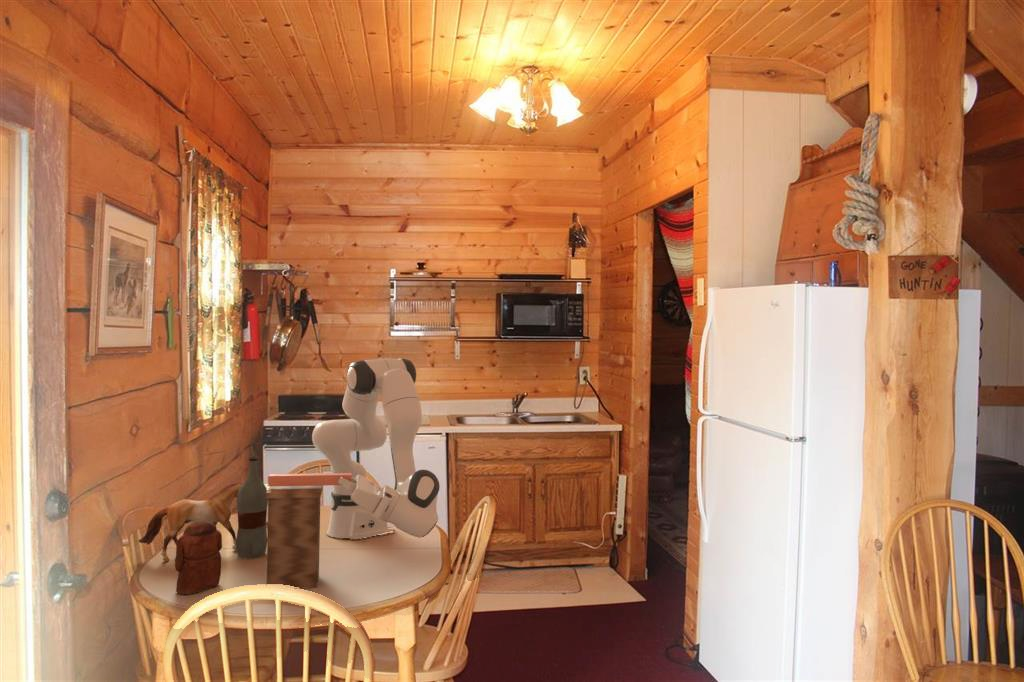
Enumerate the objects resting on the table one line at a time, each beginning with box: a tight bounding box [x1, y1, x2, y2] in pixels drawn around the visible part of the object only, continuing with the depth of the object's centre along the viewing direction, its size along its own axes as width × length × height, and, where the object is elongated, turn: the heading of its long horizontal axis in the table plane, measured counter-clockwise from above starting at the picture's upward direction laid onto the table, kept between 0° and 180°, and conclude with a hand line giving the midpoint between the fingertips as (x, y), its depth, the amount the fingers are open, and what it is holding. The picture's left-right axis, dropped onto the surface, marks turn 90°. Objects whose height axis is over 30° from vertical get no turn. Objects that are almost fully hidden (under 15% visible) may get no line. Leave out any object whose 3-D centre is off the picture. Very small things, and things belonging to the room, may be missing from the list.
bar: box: [267, 472, 352, 486], centre depth 205 cm, size 22×3×3 cm, turn 101°
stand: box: [266, 486, 324, 589], centre depth 204 cm, size 14×10×26 cm
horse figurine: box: [138, 482, 244, 562], centre depth 227 cm, size 31×8×21 cm, turn 123°
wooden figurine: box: [174, 520, 223, 595], centre depth 198 cm, size 12×6×18 cm, turn 152°
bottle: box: [236, 455, 268, 560], centre depth 228 cm, size 9×9×30 cm
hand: (339, 477), depth 206 cm, fingers closed on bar, 3 cm apart
